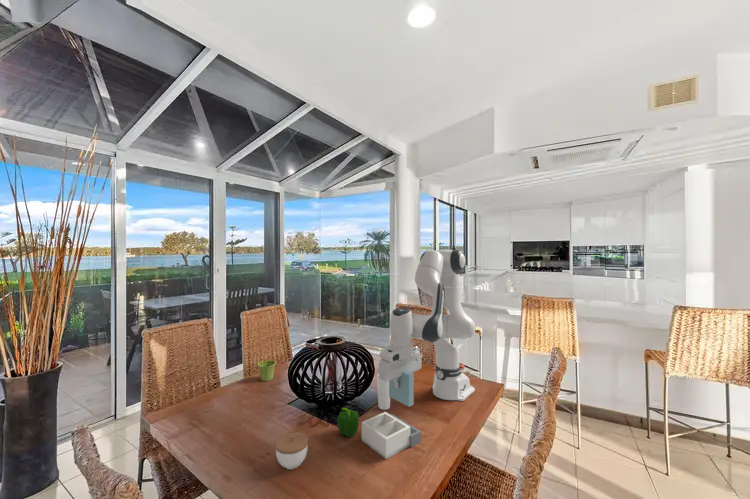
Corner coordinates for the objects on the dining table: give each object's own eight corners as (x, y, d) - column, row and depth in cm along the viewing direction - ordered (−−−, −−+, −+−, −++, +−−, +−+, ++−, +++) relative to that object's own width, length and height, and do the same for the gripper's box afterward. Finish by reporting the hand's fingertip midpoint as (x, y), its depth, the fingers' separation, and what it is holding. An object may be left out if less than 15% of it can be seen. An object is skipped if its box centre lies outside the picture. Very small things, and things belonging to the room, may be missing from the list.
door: (393, 394, 133) (393, 364, 133) (413, 404, 125) (413, 373, 124) (389, 396, 131) (389, 366, 131) (408, 406, 123) (408, 375, 123)
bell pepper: (363, 431, 131) (363, 406, 131) (351, 442, 124) (351, 415, 124) (346, 425, 135) (346, 401, 135) (333, 435, 128) (333, 410, 128)
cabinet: (392, 423, 136) (392, 406, 136) (421, 441, 124) (421, 423, 124) (359, 439, 126) (359, 421, 125) (388, 460, 113) (388, 440, 113)
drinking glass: (390, 412, 145) (390, 378, 145) (375, 410, 147) (375, 377, 146) (392, 404, 152) (392, 372, 152) (378, 403, 153) (378, 371, 153)
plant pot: (255, 378, 180) (254, 363, 180) (271, 374, 187) (271, 358, 186) (262, 384, 173) (262, 368, 173) (279, 379, 180) (278, 363, 179)
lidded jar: (279, 454, 117) (279, 428, 117) (309, 452, 118) (309, 426, 117) (272, 475, 106) (272, 446, 106) (306, 473, 107) (305, 445, 107)
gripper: (413, 343, 137) (413, 376, 137) (376, 354, 123) (375, 390, 124) (425, 347, 132) (425, 381, 132) (387, 358, 119) (387, 396, 119)
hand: (400, 386), depth 128 cm, fingers closed on door, 3 cm apart
